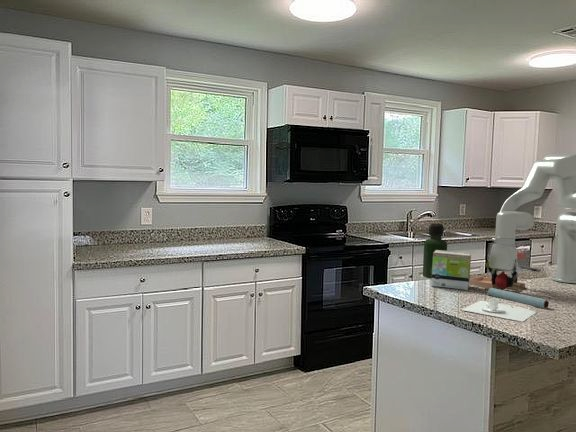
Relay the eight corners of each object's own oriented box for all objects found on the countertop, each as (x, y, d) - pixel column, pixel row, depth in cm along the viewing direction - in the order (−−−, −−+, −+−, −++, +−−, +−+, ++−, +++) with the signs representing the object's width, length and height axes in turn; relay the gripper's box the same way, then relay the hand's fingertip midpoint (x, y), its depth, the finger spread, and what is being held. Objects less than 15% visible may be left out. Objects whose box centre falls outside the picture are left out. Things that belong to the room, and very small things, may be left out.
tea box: (430, 286, 210) (432, 252, 209) (433, 282, 219) (434, 249, 218) (468, 290, 204) (470, 254, 203) (469, 286, 213) (471, 251, 212)
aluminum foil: (548, 308, 179) (549, 299, 179) (538, 310, 175) (539, 301, 175) (492, 295, 198) (493, 287, 198) (482, 297, 194) (482, 288, 194)
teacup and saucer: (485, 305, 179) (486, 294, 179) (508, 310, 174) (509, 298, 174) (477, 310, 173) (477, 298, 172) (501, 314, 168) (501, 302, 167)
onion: (511, 292, 203) (512, 272, 202) (496, 291, 204) (497, 271, 204) (508, 289, 209) (509, 270, 208) (493, 288, 210) (494, 269, 209)
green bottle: (448, 279, 227) (451, 225, 225) (425, 279, 227) (428, 224, 225) (442, 275, 237) (444, 223, 235) (420, 274, 237) (422, 222, 236)
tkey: (506, 282, 212) (508, 252, 211) (520, 281, 214) (521, 252, 214) (530, 288, 200) (532, 257, 199) (544, 288, 202) (546, 256, 201)
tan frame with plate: (506, 284, 219) (506, 280, 218) (530, 289, 210) (530, 284, 210) (484, 289, 207) (484, 284, 207) (509, 294, 199) (509, 289, 199)
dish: (480, 281, 226) (481, 276, 225) (506, 285, 216) (506, 280, 216) (466, 283, 218) (466, 279, 218) (492, 288, 209) (492, 283, 209)
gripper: (480, 240, 209) (477, 282, 210) (521, 244, 196) (518, 290, 197) (489, 239, 214) (487, 280, 215) (530, 244, 201) (527, 288, 202)
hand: (502, 284), depth 206 cm, fingers closed on onion, 5 cm apart
